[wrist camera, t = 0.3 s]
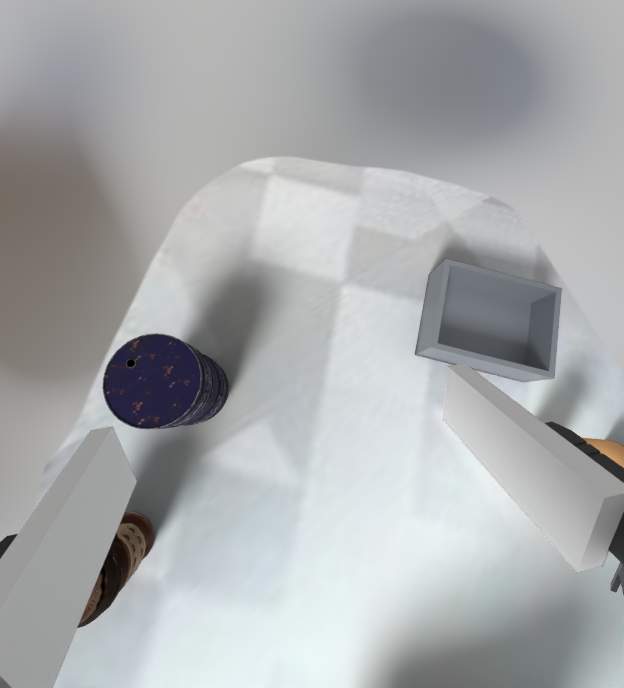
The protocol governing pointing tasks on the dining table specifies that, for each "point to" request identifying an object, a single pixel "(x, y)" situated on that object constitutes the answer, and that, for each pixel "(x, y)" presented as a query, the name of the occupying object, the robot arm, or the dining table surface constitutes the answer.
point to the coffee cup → (119, 564)
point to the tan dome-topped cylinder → (609, 449)
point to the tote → (490, 322)
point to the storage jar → (163, 383)
